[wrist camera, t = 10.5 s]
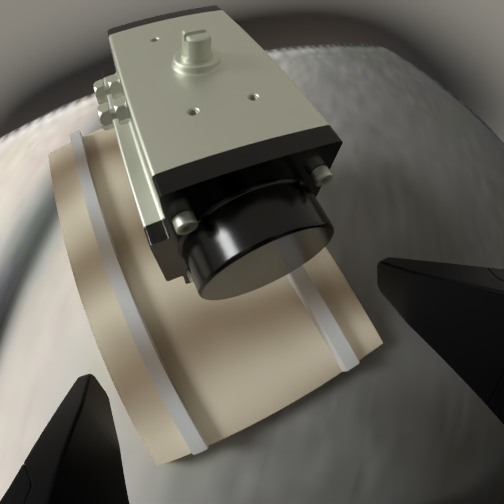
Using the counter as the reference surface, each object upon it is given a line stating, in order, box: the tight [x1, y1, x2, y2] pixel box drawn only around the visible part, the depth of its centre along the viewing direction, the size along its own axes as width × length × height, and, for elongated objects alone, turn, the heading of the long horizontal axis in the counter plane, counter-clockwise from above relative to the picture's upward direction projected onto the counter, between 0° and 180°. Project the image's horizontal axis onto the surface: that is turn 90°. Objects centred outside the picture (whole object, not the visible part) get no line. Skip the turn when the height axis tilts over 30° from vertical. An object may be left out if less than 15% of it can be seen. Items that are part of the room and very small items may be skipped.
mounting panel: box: [48, 128, 383, 466], centre depth 18 cm, size 22×14×2 cm, turn 28°
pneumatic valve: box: [94, 6, 342, 300], centre depth 13 cm, size 6×12×12 cm, turn 25°
